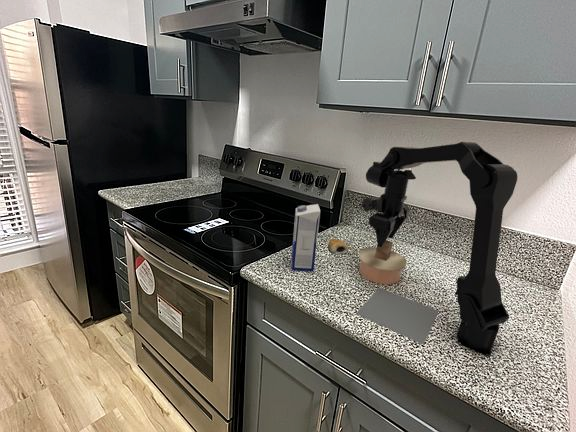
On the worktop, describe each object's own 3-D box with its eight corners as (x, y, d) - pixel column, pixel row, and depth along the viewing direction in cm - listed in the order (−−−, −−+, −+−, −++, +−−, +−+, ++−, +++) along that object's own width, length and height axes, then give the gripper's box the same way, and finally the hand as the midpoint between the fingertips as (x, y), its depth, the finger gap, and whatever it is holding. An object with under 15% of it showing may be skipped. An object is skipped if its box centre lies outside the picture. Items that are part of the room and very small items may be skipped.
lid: (411, 259, 96) (415, 242, 94) (397, 276, 85) (401, 257, 84) (369, 245, 104) (372, 229, 102) (351, 259, 93) (353, 241, 91)
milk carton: (313, 272, 95) (320, 210, 89) (291, 270, 95) (297, 208, 88) (311, 261, 102) (318, 203, 95) (291, 260, 102) (296, 201, 95)
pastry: (324, 243, 117) (325, 234, 116) (341, 243, 118) (342, 234, 117) (331, 254, 108) (332, 244, 107) (349, 255, 109) (351, 245, 108)
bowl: (404, 275, 98) (407, 259, 96) (391, 290, 89) (395, 273, 87) (368, 262, 104) (370, 247, 103) (353, 275, 95) (355, 259, 93)
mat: (438, 312, 80) (438, 310, 80) (422, 346, 68) (423, 344, 67) (378, 289, 89) (379, 287, 88) (355, 315, 76) (355, 313, 76)
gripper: (379, 181, 99) (371, 227, 104) (355, 191, 85) (347, 243, 90) (415, 189, 93) (404, 236, 98) (395, 200, 79) (384, 255, 84)
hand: (385, 242), depth 93 cm, fingers open, 9 cm apart
